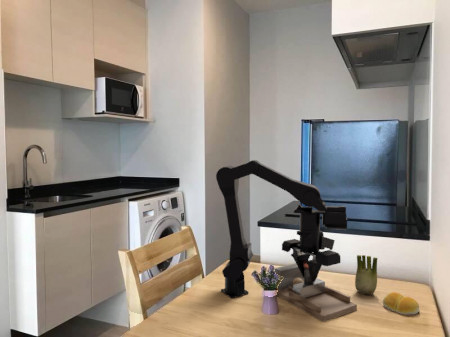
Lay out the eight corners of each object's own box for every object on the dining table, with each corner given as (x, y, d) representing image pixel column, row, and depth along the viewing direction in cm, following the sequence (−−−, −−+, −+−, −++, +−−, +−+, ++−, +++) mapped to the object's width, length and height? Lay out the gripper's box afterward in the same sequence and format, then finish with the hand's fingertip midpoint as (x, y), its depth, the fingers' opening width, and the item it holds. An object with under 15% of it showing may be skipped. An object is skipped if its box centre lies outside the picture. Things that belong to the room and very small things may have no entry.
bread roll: (411, 319, 98) (412, 304, 98) (379, 307, 105) (379, 294, 104) (424, 309, 103) (425, 295, 103) (392, 299, 110) (393, 286, 110)
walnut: (290, 288, 114) (290, 277, 114) (298, 286, 116) (298, 275, 116) (298, 292, 111) (298, 281, 111) (306, 290, 113) (307, 278, 112)
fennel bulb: (378, 294, 113) (379, 256, 112) (369, 298, 110) (370, 259, 109) (361, 288, 118) (362, 251, 117) (352, 292, 115) (353, 254, 114)
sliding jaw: (292, 295, 108) (292, 264, 108) (316, 288, 114) (317, 258, 113) (300, 299, 105) (301, 267, 105) (325, 292, 110) (326, 261, 110)
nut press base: (270, 292, 115) (270, 269, 114) (301, 284, 121) (301, 261, 121) (323, 321, 96) (324, 293, 95) (356, 309, 103) (357, 283, 102)
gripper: (354, 230, 104) (353, 284, 105) (307, 219, 120) (306, 266, 121) (326, 236, 98) (325, 293, 100) (280, 223, 114) (280, 272, 115)
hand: (309, 280), depth 109 cm, fingers closed on sliding jaw, 3 cm apart
